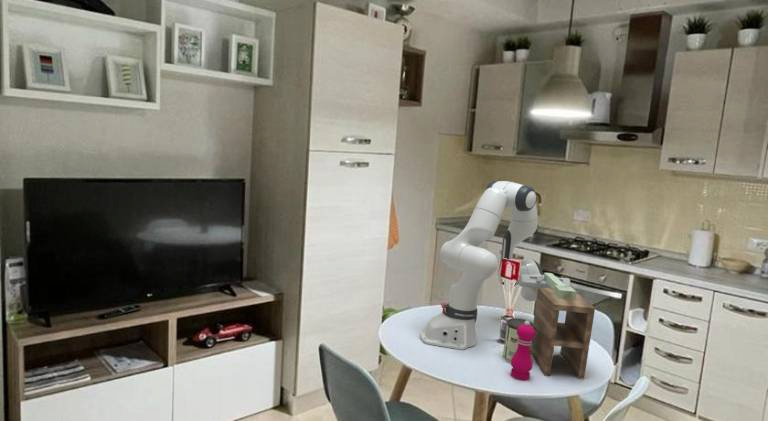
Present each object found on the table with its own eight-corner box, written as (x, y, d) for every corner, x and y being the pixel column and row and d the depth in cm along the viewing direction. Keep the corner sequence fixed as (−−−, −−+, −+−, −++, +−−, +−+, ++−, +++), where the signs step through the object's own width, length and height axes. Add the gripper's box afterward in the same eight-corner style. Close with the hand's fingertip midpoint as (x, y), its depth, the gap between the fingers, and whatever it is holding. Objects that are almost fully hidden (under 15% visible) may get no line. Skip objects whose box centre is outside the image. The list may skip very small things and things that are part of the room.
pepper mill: (533, 381, 175) (541, 325, 172) (513, 380, 175) (520, 324, 172) (526, 371, 182) (533, 317, 179) (506, 370, 182) (513, 316, 179)
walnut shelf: (544, 375, 180) (554, 304, 177) (529, 351, 200) (538, 287, 196) (584, 379, 180) (595, 308, 176) (565, 354, 200) (574, 290, 196)
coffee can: (529, 355, 196) (534, 320, 194) (531, 367, 186) (536, 330, 184) (501, 351, 198) (506, 316, 196) (502, 362, 188) (507, 325, 186)
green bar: (558, 298, 184) (559, 290, 184) (539, 279, 208) (540, 272, 208) (575, 299, 184) (576, 291, 184) (554, 280, 208) (555, 273, 208)
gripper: (514, 276, 219) (523, 267, 206) (562, 280, 219) (575, 272, 206) (514, 290, 216) (524, 283, 204) (563, 295, 216) (575, 287, 203)
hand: (550, 277), depth 205 cm, fingers closed on green bar, 3 cm apart
